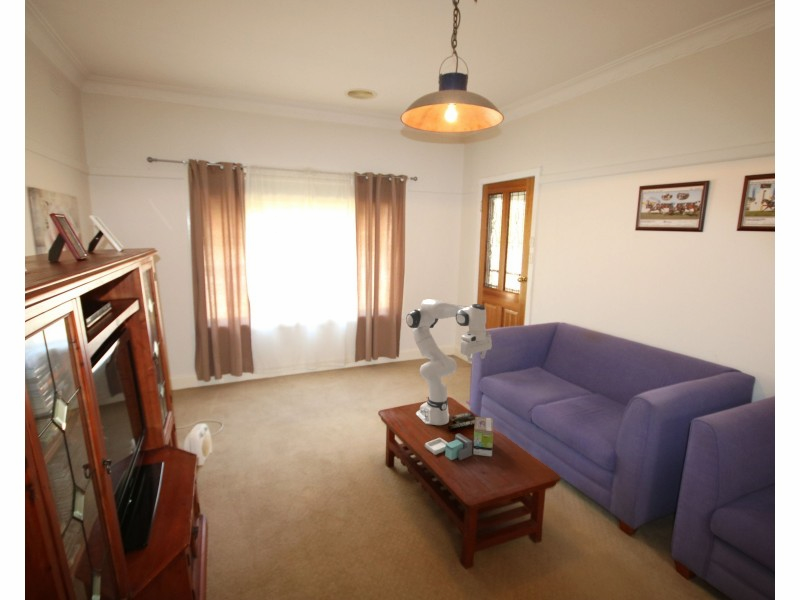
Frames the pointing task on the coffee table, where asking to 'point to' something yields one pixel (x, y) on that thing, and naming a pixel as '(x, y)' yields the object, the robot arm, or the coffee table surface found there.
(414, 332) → the robot arm
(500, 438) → the coffee table surface
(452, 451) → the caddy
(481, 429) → the tea box
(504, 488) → the coffee table surface
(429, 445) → the tray
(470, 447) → the block
